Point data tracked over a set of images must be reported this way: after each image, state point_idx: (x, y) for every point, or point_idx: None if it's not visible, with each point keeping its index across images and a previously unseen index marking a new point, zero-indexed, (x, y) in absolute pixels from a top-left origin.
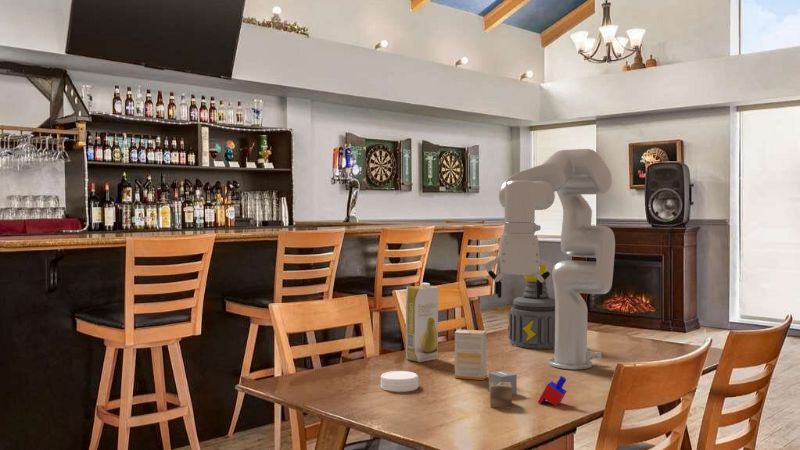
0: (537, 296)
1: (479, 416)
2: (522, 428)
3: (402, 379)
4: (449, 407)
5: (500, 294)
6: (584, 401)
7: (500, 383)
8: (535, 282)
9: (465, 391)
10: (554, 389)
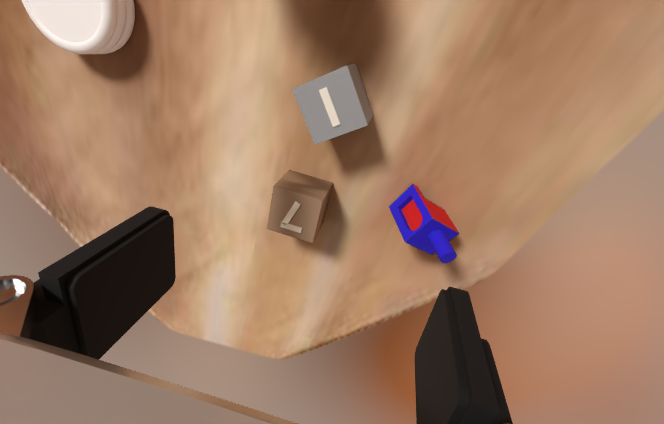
0: (416, 363)
1: (252, 253)
2: (306, 318)
3: (79, 50)
4: (205, 193)
5: (156, 296)
6: (510, 212)
7: (293, 213)
8: (457, 397)
9: (250, 70)
10: (418, 248)
